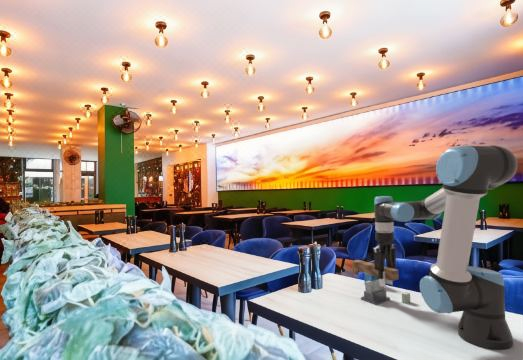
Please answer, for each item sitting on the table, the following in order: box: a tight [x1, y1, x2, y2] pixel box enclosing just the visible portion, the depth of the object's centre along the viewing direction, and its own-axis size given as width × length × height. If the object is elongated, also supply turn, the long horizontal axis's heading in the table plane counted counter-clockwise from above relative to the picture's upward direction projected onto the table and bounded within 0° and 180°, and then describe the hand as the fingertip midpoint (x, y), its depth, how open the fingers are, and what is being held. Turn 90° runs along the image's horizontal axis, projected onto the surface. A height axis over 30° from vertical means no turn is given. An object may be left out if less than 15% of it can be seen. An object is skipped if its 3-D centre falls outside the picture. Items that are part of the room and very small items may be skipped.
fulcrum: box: [360, 279, 391, 306], centre depth 144 cm, size 8×10×8 cm
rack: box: [364, 281, 411, 305], centre depth 148 cm, size 22×3×4 cm, turn 32°
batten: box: [351, 259, 400, 282], centre depth 145 cm, size 22×4×4 cm, turn 32°
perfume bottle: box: [363, 261, 379, 283], centre depth 163 cm, size 6×6×12 cm
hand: (385, 284), depth 139 cm, fingers closed on batten, 4 cm apart
